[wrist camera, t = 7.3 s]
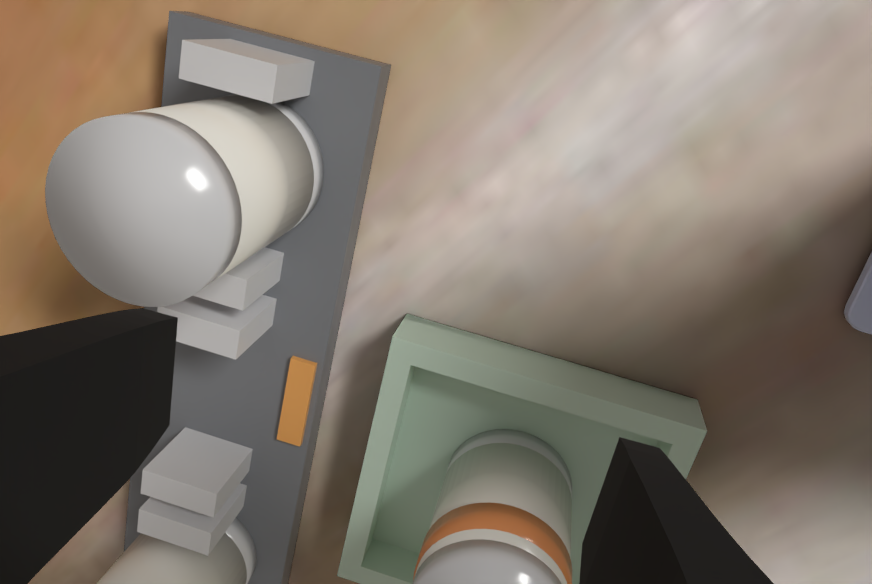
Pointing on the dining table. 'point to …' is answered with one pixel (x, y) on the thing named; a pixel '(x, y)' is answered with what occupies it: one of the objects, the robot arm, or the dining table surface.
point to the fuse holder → (259, 307)
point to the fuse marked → (500, 515)
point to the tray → (488, 410)
